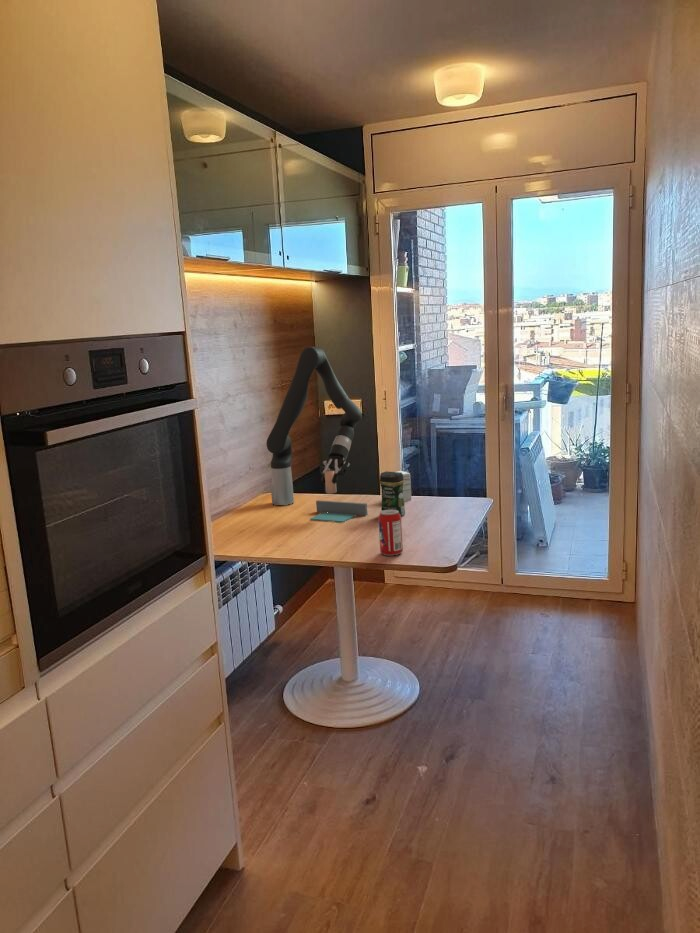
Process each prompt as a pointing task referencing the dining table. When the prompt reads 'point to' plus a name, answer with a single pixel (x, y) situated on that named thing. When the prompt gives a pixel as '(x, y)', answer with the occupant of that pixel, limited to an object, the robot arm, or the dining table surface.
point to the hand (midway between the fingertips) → (328, 482)
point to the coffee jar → (392, 491)
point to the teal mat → (333, 517)
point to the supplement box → (406, 486)
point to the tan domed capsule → (330, 482)
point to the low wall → (342, 507)
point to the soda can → (390, 532)
